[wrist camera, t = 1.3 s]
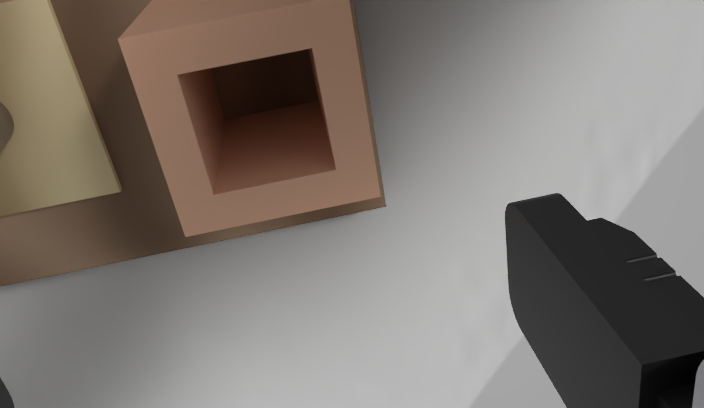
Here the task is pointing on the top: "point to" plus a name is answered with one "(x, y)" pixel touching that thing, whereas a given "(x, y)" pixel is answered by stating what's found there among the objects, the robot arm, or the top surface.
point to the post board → (109, 140)
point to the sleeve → (255, 129)
